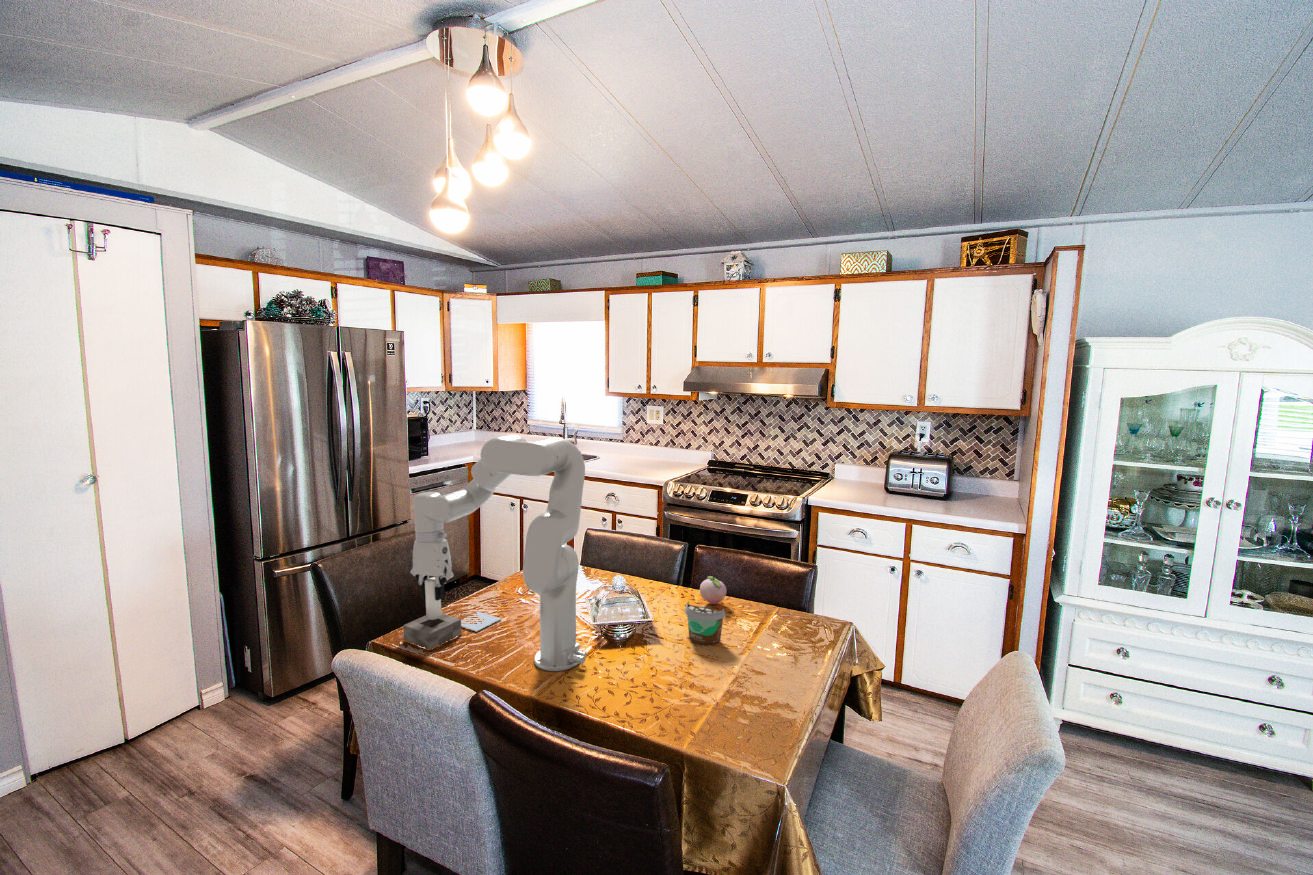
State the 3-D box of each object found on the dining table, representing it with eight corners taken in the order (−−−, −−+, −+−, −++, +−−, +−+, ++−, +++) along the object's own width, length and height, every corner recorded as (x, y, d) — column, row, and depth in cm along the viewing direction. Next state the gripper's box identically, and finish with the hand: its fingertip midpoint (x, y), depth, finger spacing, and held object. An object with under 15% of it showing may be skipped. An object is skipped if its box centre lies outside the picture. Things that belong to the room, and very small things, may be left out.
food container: (677, 641, 161) (677, 608, 160) (686, 633, 166) (686, 601, 165) (717, 651, 155) (717, 617, 154) (724, 642, 160) (725, 609, 159)
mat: (501, 620, 173) (501, 618, 173) (476, 632, 165) (476, 630, 165) (478, 613, 178) (478, 611, 178) (453, 625, 170) (453, 623, 170)
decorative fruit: (694, 602, 189) (694, 573, 188) (714, 597, 193) (714, 570, 192) (709, 612, 181) (710, 582, 180) (730, 607, 185) (730, 578, 184)
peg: (444, 614, 161) (442, 578, 160) (435, 620, 157) (433, 582, 156) (432, 613, 162) (430, 576, 161) (423, 618, 159) (421, 581, 157)
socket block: (461, 635, 163) (460, 619, 162) (429, 651, 153) (429, 634, 153) (436, 627, 168) (435, 611, 168) (404, 641, 159) (403, 625, 158)
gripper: (463, 534, 159) (466, 595, 161) (414, 530, 163) (417, 590, 165) (446, 541, 152) (449, 606, 153) (396, 537, 156) (399, 599, 158)
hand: (433, 597), depth 159 cm, fingers closed on peg, 4 cm apart
